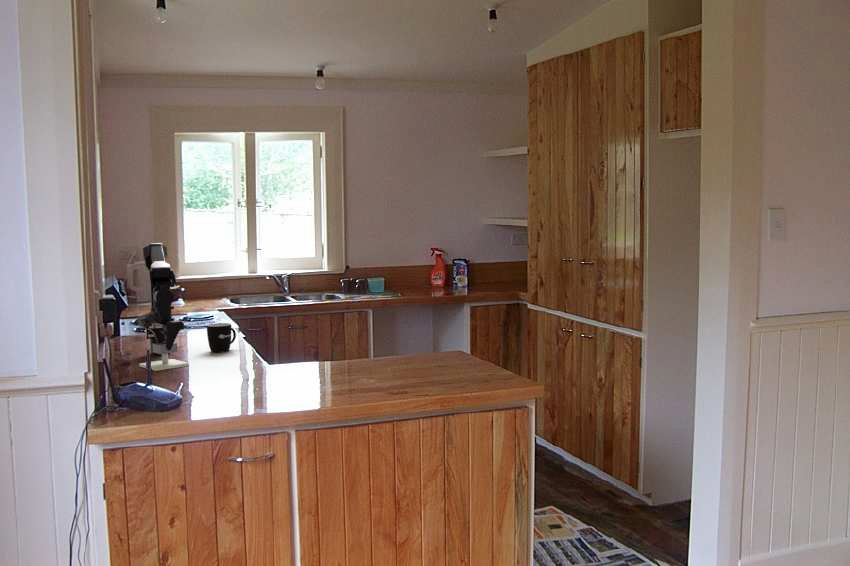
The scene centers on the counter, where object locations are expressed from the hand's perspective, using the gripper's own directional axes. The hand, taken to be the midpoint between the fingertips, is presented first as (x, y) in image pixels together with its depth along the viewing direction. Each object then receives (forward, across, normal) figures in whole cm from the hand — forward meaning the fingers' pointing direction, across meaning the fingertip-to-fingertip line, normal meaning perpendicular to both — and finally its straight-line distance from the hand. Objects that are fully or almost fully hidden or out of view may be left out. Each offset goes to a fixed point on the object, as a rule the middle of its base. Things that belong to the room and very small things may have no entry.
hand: (164, 349), depth 278 cm
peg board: (+6, -1, 0) cm, 6 cm away
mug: (+6, -14, +30) cm, 34 cm away
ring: (+1, 0, 0) cm, 1 cm away
